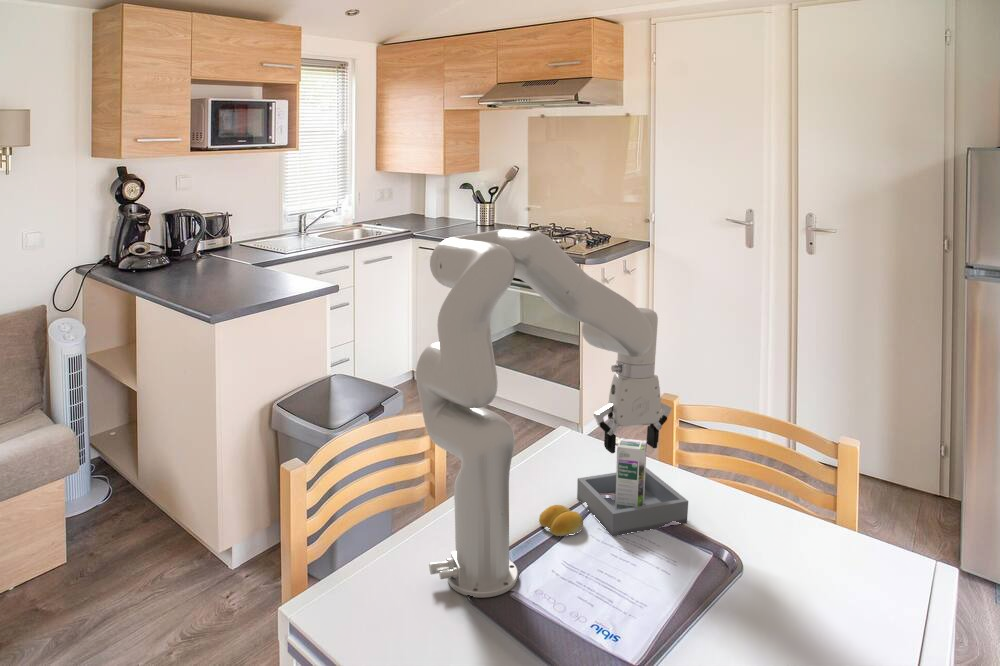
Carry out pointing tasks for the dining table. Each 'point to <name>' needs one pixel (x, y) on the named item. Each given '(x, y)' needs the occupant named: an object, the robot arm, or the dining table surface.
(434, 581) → the dining table surface
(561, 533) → the bread roll
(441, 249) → the robot arm
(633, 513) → the bin
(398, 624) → the dining table surface
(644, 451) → the syrup box
